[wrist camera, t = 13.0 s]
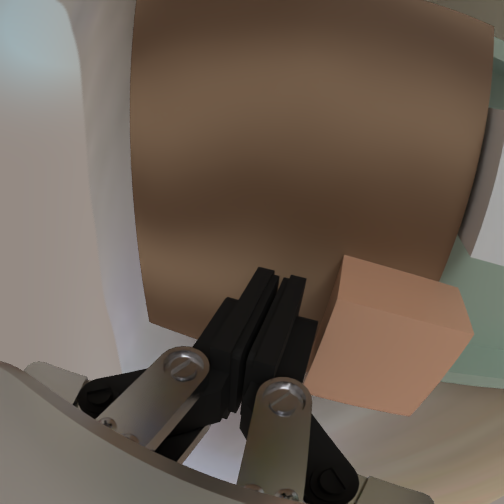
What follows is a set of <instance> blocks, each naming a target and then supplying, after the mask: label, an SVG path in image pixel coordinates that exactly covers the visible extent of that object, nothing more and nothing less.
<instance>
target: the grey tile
mask: <svg viewBox="0 0 504 504" xmlns="http://www.w3.org/2000/svg"><path fill="white" fill-rule="evenodd" d="M457 235H458V236H459V238H460V240H461V241H462V243H463V245H464V247H465V248H466V250H467V252H468V254H469V255H470V257H472V258H476V259H479V260H483V261H487V262H490V263H494V264H497V265H501V266H504V110H501V109H494V108H488V114H487V120H486V126H485V132H484V137H483V142H482V147H481V152H480V157H479V161H478V165H477V170H476V174H475V178H474V181H473V185H472V189H471V192H470V196H469V199H468V203H467V206H466V209H465V213H464V216H463V219H462V222H461V225H460V228H459V231H458V234H457Z"/></svg>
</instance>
